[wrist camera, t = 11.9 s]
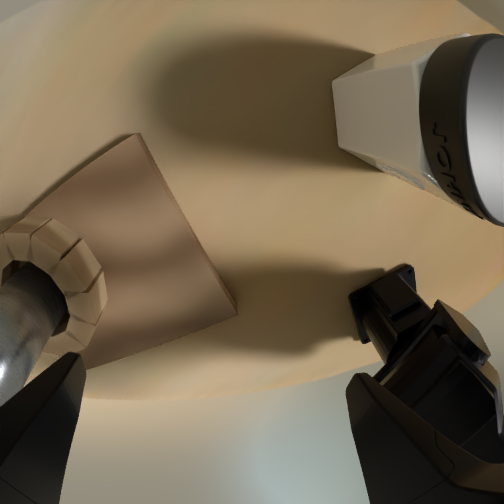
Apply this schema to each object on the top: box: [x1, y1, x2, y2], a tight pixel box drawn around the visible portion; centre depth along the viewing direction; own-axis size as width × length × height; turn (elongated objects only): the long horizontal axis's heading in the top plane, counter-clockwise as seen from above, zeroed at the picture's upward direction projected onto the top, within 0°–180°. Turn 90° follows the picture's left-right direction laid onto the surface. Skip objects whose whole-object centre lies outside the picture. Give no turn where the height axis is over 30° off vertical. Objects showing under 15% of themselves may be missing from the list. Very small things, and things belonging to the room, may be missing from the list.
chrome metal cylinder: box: [0, 261, 68, 406], centre depth 13 cm, size 5×5×13 cm
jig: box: [0, 133, 238, 370], centre depth 19 cm, size 15×18×4 cm
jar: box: [332, 33, 504, 227], centre depth 12 cm, size 9×8×12 cm
